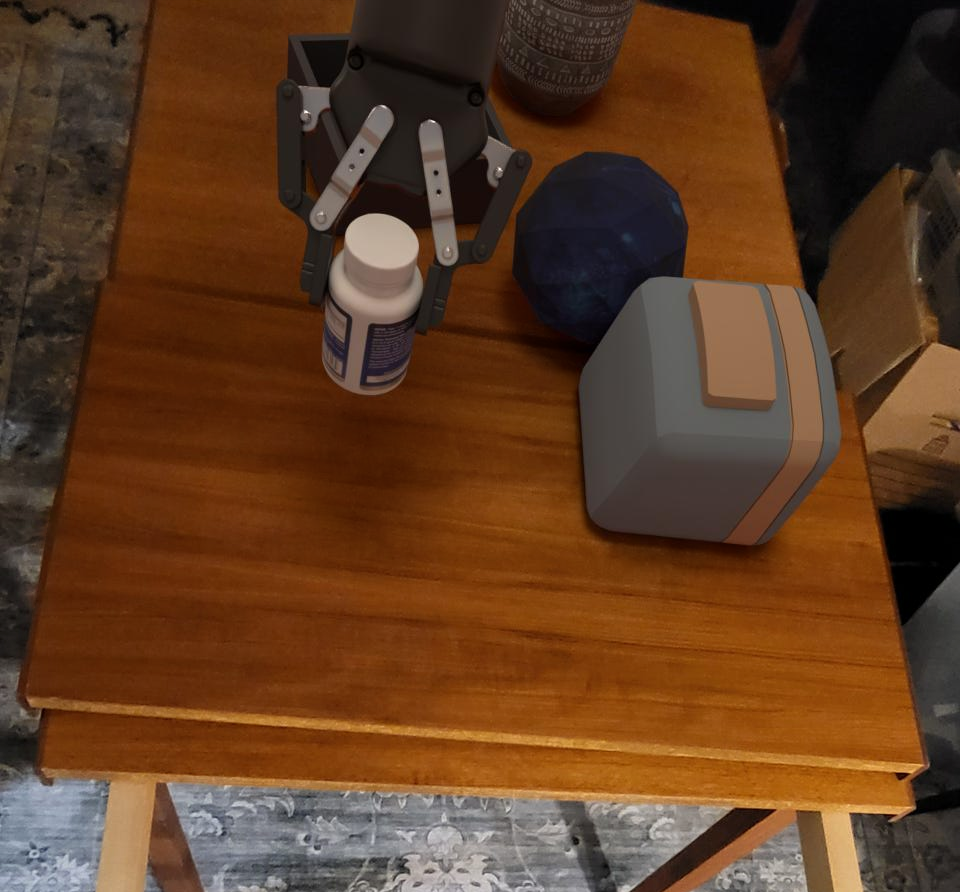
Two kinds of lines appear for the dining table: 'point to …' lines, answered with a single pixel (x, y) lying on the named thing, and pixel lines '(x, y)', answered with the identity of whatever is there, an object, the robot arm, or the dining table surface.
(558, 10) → the planter
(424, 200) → the bin
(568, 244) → the decorative orb
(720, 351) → the grey rounded cube box
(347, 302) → the pill bottle
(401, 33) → the robot arm
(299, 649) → the dining table surface
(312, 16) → the dining table surface
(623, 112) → the dining table surface
